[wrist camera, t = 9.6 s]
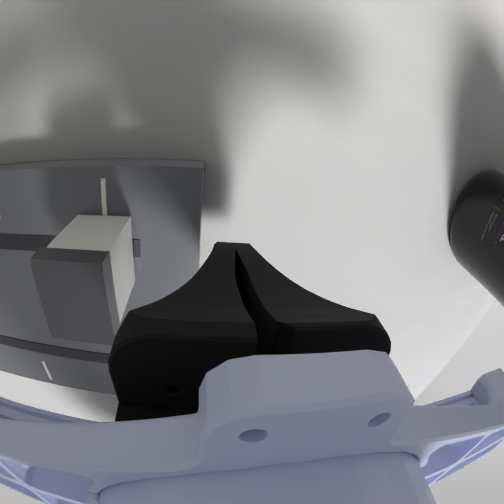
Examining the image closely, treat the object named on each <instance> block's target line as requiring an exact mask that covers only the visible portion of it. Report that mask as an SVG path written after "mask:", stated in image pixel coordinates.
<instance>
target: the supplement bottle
mask: <svg viewBox="0 0 504 504" xmlns="http://www.w3.org/2000/svg"><path fill="white" fill-rule="evenodd" d="M450 243H451V248H452V251H453V254H454V256H455V258H456V260H457V261H458V262H459V263H460V264H461V265H462V266H463V267H464V268H465V269H466V270H467V271H468V272H469V273H470V274H471V275H472V276H473V277H474V278H475V279H476V280H477V281H479V282H480V283H481V284H482V285H483V286H484V287H485V288H486V289H487V290H488V291H489V292H490V293H491V294H492V295H493V296H494V297H495V298H496V299H497V300H498V301H499V302H500V303H501V304H502V305H503V306H504V172H501V171H498V170H490V171H486V172H484V173H482V174H480V175H478V176H477V177H476V178H474V179H473V180H472V181H471V182H470V183H469V184H468V186H467V187H466V188H465V190H464V191H463V193H462V194H461V196H460V198H459V200H458V202H457V204H456V207H455V210H454V213H453V216H452V221H451V227H450Z"/></svg>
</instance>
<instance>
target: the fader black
mask: <svg viewBox="0 0 504 504" xmlns="http://www.w3.org/2000/svg"><path fill="white" fill-rule="evenodd" d="M30 263H31V267H32V272H33V276H34V280H35V283H36V287H37V291H38V294H39V298H40V301H41V305H42V308H43V311H44V314H45V317H46V320H47V323H48V326H49V329H50V332H51V335H52V337H53V338H59V339H66V340H72V341H79V342H87V343H94V344H103V345H111V346H112V345H113V342H114V338H115V336H116V334H117V331H118V329H119V328H120V322H121V319H122V316H123V314H124V311H125V308H126V305H127V302H128V299H129V297H130V294H131V291H132V288H133V286H134V283H135V272H134V259H133V245H132V227H131V216H103V215H77V216H76V217H75V218H74V219H73V220H72V221H71V222H70V223H69V224H68V225H67V226H66V227H65V228H64V229H63V230H62V231H61V232H60V233H59V234H58V235H57V236H56V237H55V238H54V239H53V240H52V241H51V243H50V244H49V245H48V246H47V247H46V248H44V247H40V248H39V249H38V250H37V252H36V253H35V254H34V255H33V256H32V257H31V258H30Z"/></svg>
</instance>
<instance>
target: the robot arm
mask: <svg viewBox="0 0 504 504" xmlns="http://www.w3.org/2000/svg"><path fill="white" fill-rule="evenodd" d="M390 350H391V341H390V338H389V336H388V334H387V332H386V331H385V329H384V327H383V326H382V324H381V323H380V321H379V320H378V318H377V317H376V315H374V314H371V313H367V312H363V311H359V310H355V309H351V308H348V307H345V306H342V305H339V304H336V303H334V302H331V301H329V300H326V299H324V298H322V297H320V296H318V295H316V294H314V293H311V292H309V291H308V290H306V289H304V288H302V287H301V286H299V285H298V284H296V283H294V282H293V281H291V280H290V279H288V278H287V277H286V276H284V275H283V274H282V273H280V272H279V271H278V270H277V269H275V268H274V267H273V266H272V265H271V264H270V263H269V262H267V261H266V260H265V259H264V258H263V257H262V256H261V255H260V254H259V253H258V252H257V251H256V250H255V249H254V248H253V247H252V246H251V245H250V244H246V243H227V242H217V243H215V244H214V248H213V250H212V252H211V254H210V255H209V257H208V258H207V260H206V261H205V263H204V264H203V265H202V267H201V268H200V269H199V270H198V271H197V272H196V274H195V275H194V276H193V277H192V278H191V279H190V280H189V281H187V282H186V283H185V284H184V285H183V286H181V287H180V288H179V289H177V290H176V291H174V292H173V293H171V294H169V295H167V296H166V297H164V298H162V299H160V300H157V301H155V302H153V303H151V304H148V305H145V306H142V307H139V308H136V309H133V310H130V311H129V312H128V313H127V315H126V317H125V318H124V320H123V322H122V324H121V326H120V328H119V329H118V331H117V334H116V336H115V338H114V342H113V345H112V348H111V352H110V355H109V359H108V369H109V374H110V377H111V380H112V383H113V386H114V389H115V392H116V395H117V398H118V401H119V404H118V409H117V414H116V419H115V422H96V421H90V420H85V419H80V418H75V417H70V416H66V415H62V414H57V413H53V412H49V411H45V410H41V409H38V408H34V407H31V406H27V405H24V404H20V403H17V402H14V401H11V400H8V399H5V398H2V397H0V483H1V484H3V485H6V486H7V487H9V488H11V489H13V490H16V491H18V492H20V493H22V494H24V495H26V496H29V497H31V498H33V499H36V500H38V501H40V502H43V503H45V504H436V503H435V500H434V498H433V495H432V493H431V491H430V488H429V486H431V485H433V484H435V483H437V482H438V481H440V480H442V479H444V478H446V477H448V476H450V475H452V474H453V473H455V472H457V471H459V470H460V469H462V468H464V467H465V466H467V465H469V464H471V463H472V462H474V461H476V460H477V459H479V458H481V457H482V456H484V455H486V454H487V453H489V452H491V451H492V450H493V449H495V448H496V447H497V446H498V445H499V444H500V443H501V442H502V441H503V440H504V372H503V371H502V369H496V370H494V371H491V372H488V373H485V374H484V375H482V376H481V377H480V378H479V379H478V380H477V381H476V382H475V384H474V385H473V387H472V389H471V390H470V391H467V392H464V393H461V394H459V395H456V396H453V397H450V398H446V399H443V400H440V401H437V402H433V403H430V404H427V405H423V406H418V405H416V406H415V405H413V403H414V401H415V400H414V398H413V396H412V394H411V392H410V390H409V389H408V387H407V385H406V383H405V382H404V380H403V378H402V376H401V375H400V373H399V371H398V369H397V368H396V366H395V364H394V362H393V361H392V360H391V358H390V357H389V353H390Z"/></svg>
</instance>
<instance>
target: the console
mask: <svg viewBox="0 0 504 504" xmlns="http://www.w3.org/2000/svg"><path fill="white" fill-rule="evenodd" d="M204 168H205V161H196V160H172V159H79V160H57V161H41V162H27V163H16V164H5V165H0V370H1V371H5V372H8V373H12V374H15V375H19V376H23V377H27V378H31V379H35V380H39V381H43V382H48V383H52V384H57V385H62V386H67V387H72V388H77V389H83V390H89V391H95V392H101V393H108V394H116V392H115V389H114V386H113V383H112V380H111V377H110V374H109V369H108V359H109V355H110V352H111V348H112V346H111V345H103V344H94V343H87V342H79V341H72V340H66V339H59V338H53V337H52V335H51V332H50V329H49V326H48V323H47V320H46V317H45V314H44V311H43V308H42V305H41V301H40V298H39V294H38V291H37V287H36V283H35V280H34V276H33V272H32V267H31V263H30V258H31V257H32V256H33V255H34V254H35V253H36V252H37V250H38V249H39V248H40V247H44V248H46V247H47V246H48V245H49V244H50V243H51V241H52V240H53V239H54V238H55V237H56V236H57V235H58V234H59V233H60V232H61V231H62V230H63V229H64V228H65V227H66V226H67V225H68V224H69V223H70V222H71V221H72V220H73V219H74V218H75V217H76V216H77V215H103V216H131V227H132V245H133V259H134V272H135V283H134V286H133V288H132V291H131V294H130V297H129V299H128V302H127V305H126V308H125V311H124V314H123V316H122V319H121V322H120V326H121V324H122V322H123V320H124V318H125V317H126V315H127V313H128V312H129V311H130V310H133V309H136V308H139V307H142V306H145V305H148V304H151V303H153V302H155V301H157V300H160V299H162V298H164V297H166V296H167V295H169V294H171V293H173V292H174V291H176V290H177V289H179V288H180V287H181V286H183V285H184V284H185V283H186V282H187V281H189V280H190V279H191V278H192V277H193V276H194V275H195V274H196V272H197V271H198V270H199V260H200V235H201V215H202V198H203V183H204Z"/></svg>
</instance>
